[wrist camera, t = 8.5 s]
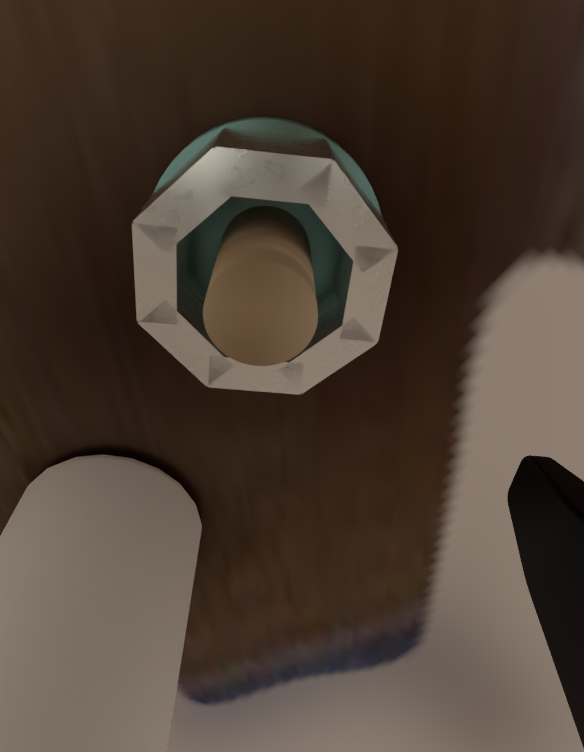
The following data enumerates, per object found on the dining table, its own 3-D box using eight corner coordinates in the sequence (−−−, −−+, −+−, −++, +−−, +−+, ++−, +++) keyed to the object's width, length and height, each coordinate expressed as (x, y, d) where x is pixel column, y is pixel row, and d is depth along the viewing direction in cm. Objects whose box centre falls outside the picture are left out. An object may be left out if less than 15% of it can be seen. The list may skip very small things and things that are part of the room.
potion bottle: (39, 421, 24) (-395, 1136, 8) (225, 470, 25) (141, 1140, 10) (19, 545, 28) (-294, 1171, 13) (181, 580, 29) (74, 1169, 14)
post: (401, 131, 18) (449, 175, 13) (358, 348, 22) (381, 446, 17) (147, 102, 17) (91, 135, 12) (154, 330, 21) (114, 426, 16)
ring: (395, 146, 17) (416, 168, 14) (355, 354, 21) (365, 400, 18) (151, 119, 16) (126, 136, 14) (157, 337, 20) (139, 382, 18)
